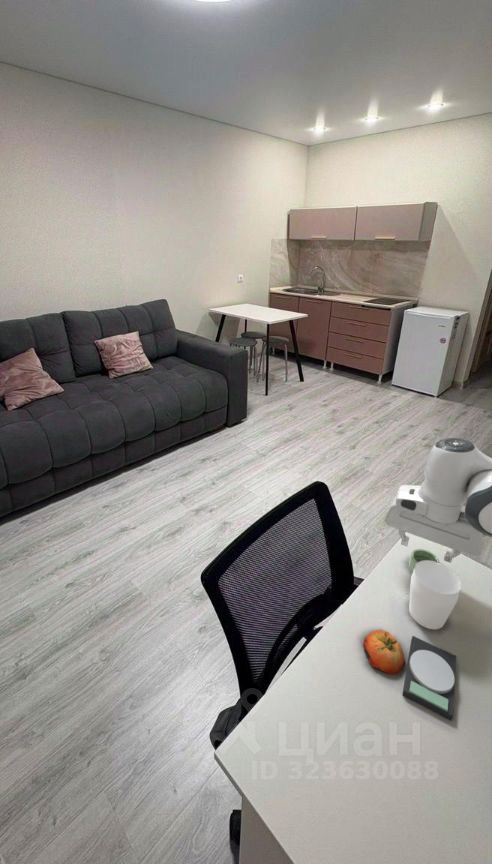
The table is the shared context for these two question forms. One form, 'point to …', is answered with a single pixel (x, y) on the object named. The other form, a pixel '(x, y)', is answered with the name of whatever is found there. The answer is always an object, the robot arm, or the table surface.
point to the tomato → (384, 651)
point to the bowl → (421, 557)
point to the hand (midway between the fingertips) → (425, 551)
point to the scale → (430, 677)
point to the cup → (433, 593)
